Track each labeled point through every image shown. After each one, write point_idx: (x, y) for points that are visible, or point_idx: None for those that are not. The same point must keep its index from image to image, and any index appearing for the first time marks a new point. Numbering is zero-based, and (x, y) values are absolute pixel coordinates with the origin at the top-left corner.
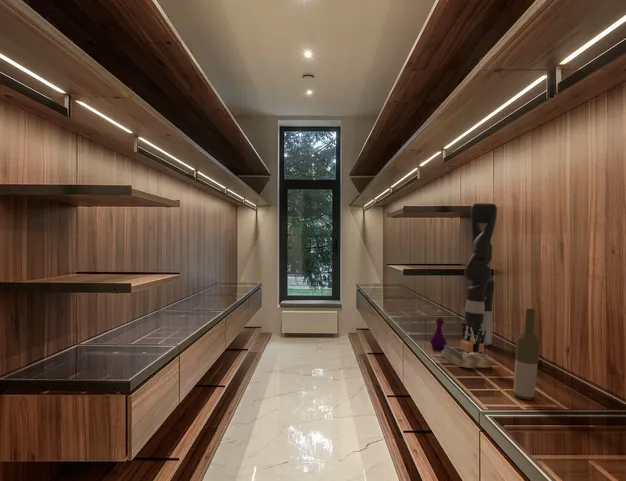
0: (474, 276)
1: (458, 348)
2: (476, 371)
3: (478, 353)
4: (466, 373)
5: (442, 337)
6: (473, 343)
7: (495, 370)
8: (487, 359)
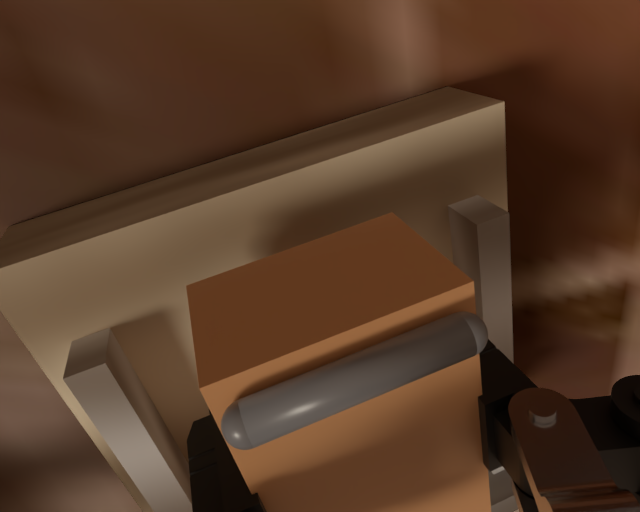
0: None
1: (188, 490)
2: (554, 292)
3: (200, 208)
4: (583, 370)
5: None
6: (454, 461)
7: (543, 85)
8: (484, 166)
